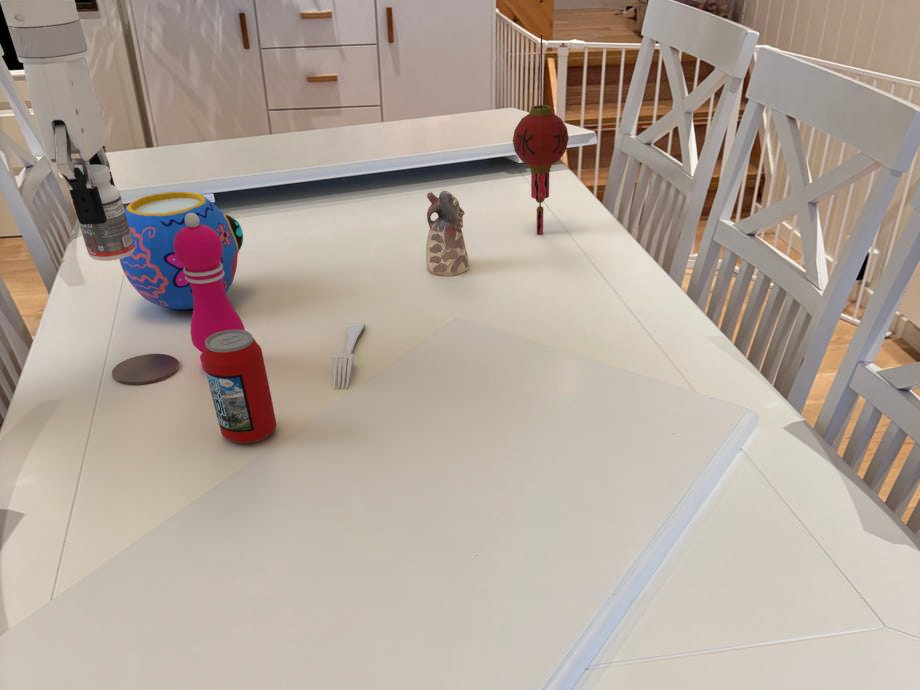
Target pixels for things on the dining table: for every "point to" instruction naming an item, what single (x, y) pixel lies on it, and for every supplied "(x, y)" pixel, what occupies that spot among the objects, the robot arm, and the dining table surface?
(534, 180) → the lantern
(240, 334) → the beverage can
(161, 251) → the ceramic pot
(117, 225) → the pill bottle
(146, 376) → the coaster
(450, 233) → the figurine
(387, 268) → the dining table surface
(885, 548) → the dining table surface
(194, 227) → the pepper mill
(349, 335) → the fork
